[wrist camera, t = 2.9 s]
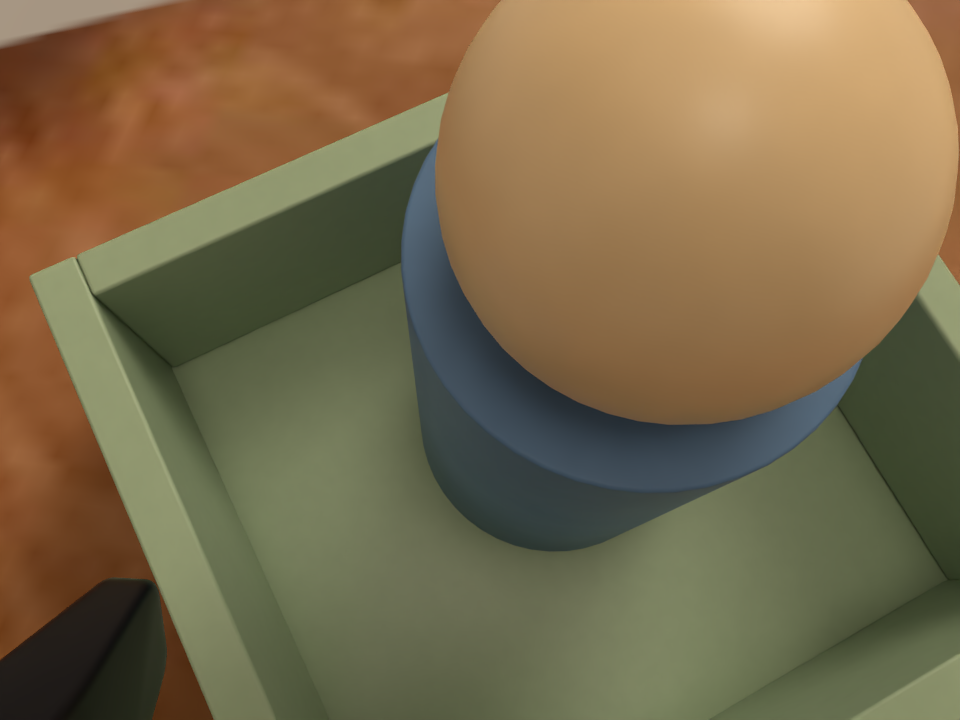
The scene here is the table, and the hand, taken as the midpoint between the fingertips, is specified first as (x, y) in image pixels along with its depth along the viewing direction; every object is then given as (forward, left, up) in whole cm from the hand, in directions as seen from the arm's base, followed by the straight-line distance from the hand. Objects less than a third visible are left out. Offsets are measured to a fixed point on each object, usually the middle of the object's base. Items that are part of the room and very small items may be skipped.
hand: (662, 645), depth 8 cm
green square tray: (+2, +3, -11) cm, 12 cm away
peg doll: (+2, +4, -10) cm, 11 cm away
